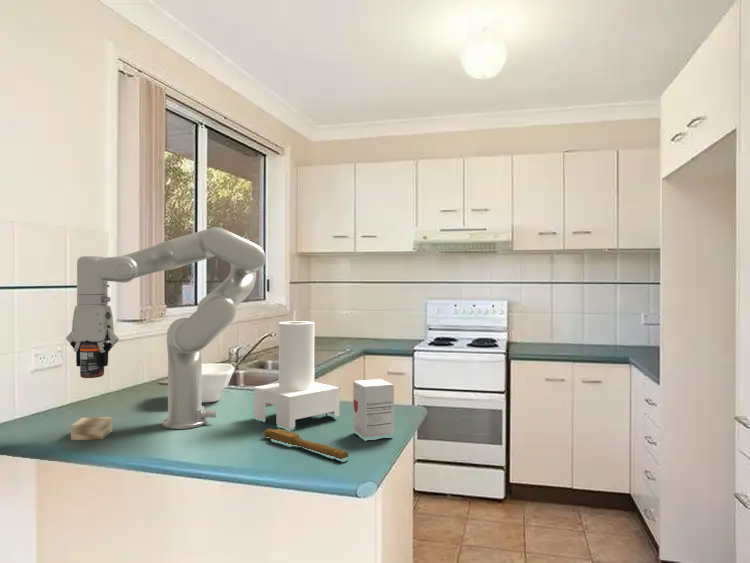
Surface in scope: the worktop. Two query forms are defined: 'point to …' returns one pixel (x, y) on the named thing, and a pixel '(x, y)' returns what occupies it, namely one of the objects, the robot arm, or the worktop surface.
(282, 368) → the paper towel holder
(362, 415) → the supplement box
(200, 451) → the worktop surface
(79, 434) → the maple block
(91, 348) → the supplement bottle
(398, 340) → the worktop surface
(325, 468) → the worktop surface
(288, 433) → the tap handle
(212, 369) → the bowl
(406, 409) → the worktop surface
